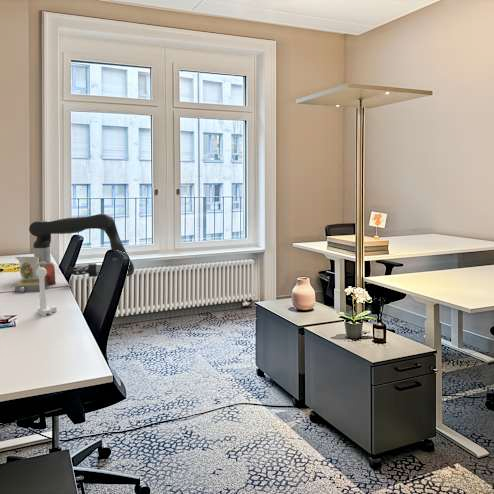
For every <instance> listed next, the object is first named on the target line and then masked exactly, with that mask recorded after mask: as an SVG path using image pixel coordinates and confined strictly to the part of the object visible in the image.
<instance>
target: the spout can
mask: <svg viewBox="0 0 494 494" xmlns="http://www.w3.org/2000/svg"><path fill="white" fill-rule="evenodd" d="M55 267H56V266H55V263H54V262H52V261H51V262H49V258H47V262H46V263H45V264H44V268H45V269H46V271H47V274H46V276H45V277H44V279H46V281H48V286H52V285H53V284H54V285H56V283H57V282H56V272H55V271H56V268H55ZM54 285H53V286H54Z"/></svg>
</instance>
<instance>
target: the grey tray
mask: <svg viewBox="0 0 494 494" xmlns="http://www.w3.org/2000/svg"><path fill="white" fill-rule="evenodd" d="M44 284H45V290H46V289H47V288H48V287H49V285H48V281H46V279H44ZM14 292H15V293H25V292H40V287H39V278H38V279H24V280H23V279H21V280H20V281H19V282H17V283H16V285H15V286H14Z"/></svg>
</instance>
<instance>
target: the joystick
mask: <svg viewBox="0 0 494 494" xmlns="http://www.w3.org/2000/svg"><path fill="white" fill-rule="evenodd" d="M46 274H47V271H46V269H45V268H43V267H40V268H38V269H37V270H36V275H37V276H38V277H39V278H38V279H39V287H40V291H39V305H37V314H38V315H40V316H42V317H46V316H47V315H52V313H56V312H57V305H50V306H48V305H47V298H46V297H47V296H46V289H45V284H44V277H45V276H46Z"/></svg>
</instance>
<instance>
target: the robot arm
mask: <svg viewBox="0 0 494 494" xmlns="http://www.w3.org/2000/svg"><path fill="white" fill-rule="evenodd" d="M89 229H93V230H94V229H96V230H97V229H99V230H101V231H104V233H105V234H106V236H107V237H108V239H109V244H110V248H111V251H112V250H119V251H122V252H125V253H126V254H127V255H128V252H127V251H126V249H125V246H124V244H123V242H122V239H121V238H120V234H119V233H118V229H117V225H116V222H115V220H114V218H113V217H112V216H110V215H108V214H106V213H98V214H94V215H90V216H89V215H88V216H76V217H74V216H73V217H65V218H61V219H57V220H56V219H54V220H51V221H47V220H36V221H33V222H32V223H31V224H30V225H29V228H28V230H29V233H30V234H31V235H32V236H34V237H36V240H35V241H34V243H33V244H32V245H33V257H39V262H42V261H44V262H47V258H49V262H52V259H51V257H52V256H51V242H52V235H53V234H55V235H56V234H58V235H64V234H69V235H70V234H77V233H81V232H83V231H85V230H89ZM102 263H103V262H96V263H93V262H92V263H88V265H84V266H83V265H82V266H81V265H80V266H75V267H68V269H67V270H66V271H65V272H66V273H65V274H66V275H74V276H81V275H86V274H88V277H89V278H90V277H92V278H93V277H94V278H95V277H96V278H97V277H98V274H99V271H100V268H101V266H102ZM40 267H43V268H44V264H40ZM134 272H135V268H134V263H133V261H132V260H131V259H130V265H129V269H128V274H127V276H126V277H131V276H132V275H134ZM98 278H99V277H98Z"/></svg>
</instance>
